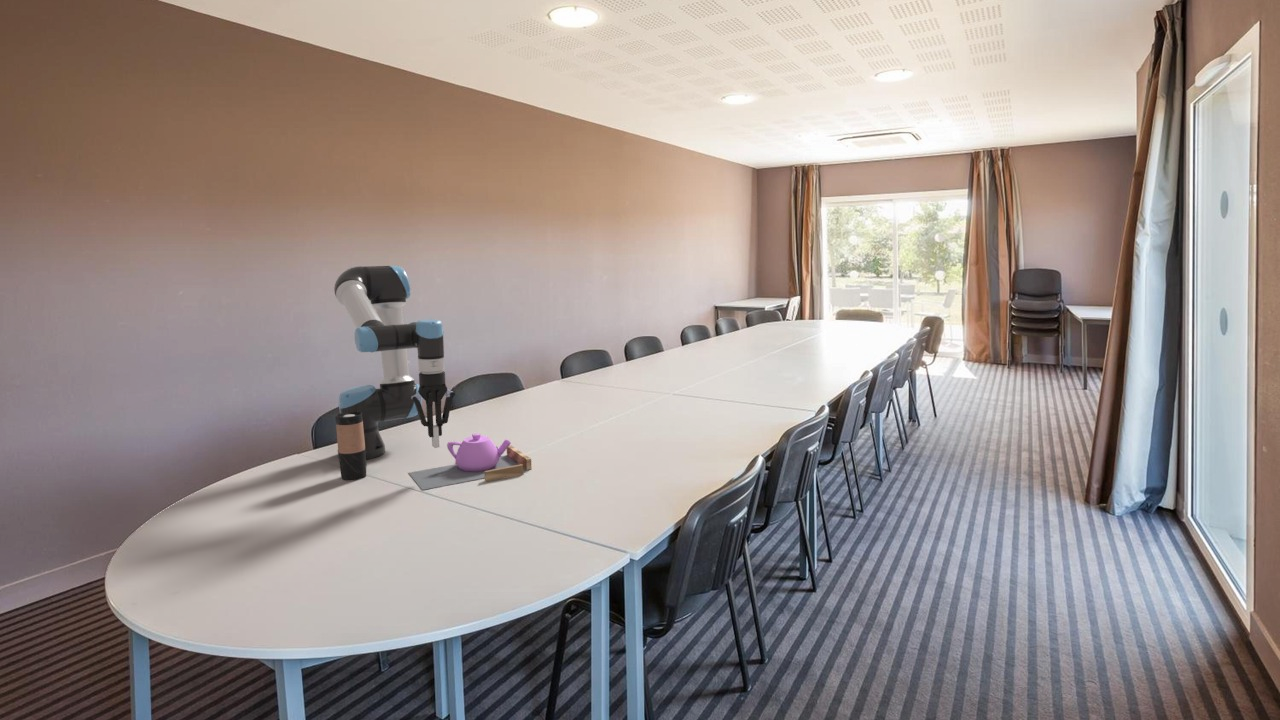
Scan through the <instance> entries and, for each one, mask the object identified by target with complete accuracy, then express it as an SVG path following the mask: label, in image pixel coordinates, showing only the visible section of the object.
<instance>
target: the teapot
mask: <svg viewBox="0 0 1280 720" xmlns="http://www.w3.org/2000/svg"><path fill="white" fill-rule="evenodd" d="M511 444H512V443H511V441H510V440H508V439H504V441H503V442H502V443H501V445H500V446H499V447H498V450H497V448H496V446H497V445H495V443H494V442H493V441H492V440H491V438H490V437H488V436H486V435H481V433H472V434H471V436H470V437H469V436H468V437H467V438H464V439H463V440H462V442H459V441H449V442H447V444H446V447H447V450H448V452H449V453H450V454H451V455H452V457H453V458H454V460H455V464H456V465H457V466H458V467H459V468H460V469H461V470H463V471H469V472H477V471H485V470H489V469H491V468H493V467H495V466H496V464H497V463H498V461H499V457H500V456H503V454H504V453H505V451H507V448H508V447H509V445H511ZM454 446H459V447H458V449H457V452H455V450H454Z"/></svg>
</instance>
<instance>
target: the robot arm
mask: <svg viewBox="0 0 1280 720" xmlns="http://www.w3.org/2000/svg"><path fill="white" fill-rule="evenodd" d="M407 274H408V273H407V272H406V271H405V268H403V267H401V266H399V265H398V266H397V265H396V266H395V265H372V266H368V265H367V266H354V267H350V268H348V269H346V270H345V271H343V272H342V273H341V274H340V275H339V276H338V277H337V279H336V281H335V283H334V287H333V288H334V289H333V291H334V295H335V298H336V299H337V301H338V302H339V303H340V304H341V305H342V306H344V308H345V310H346V311H347V313H348V314H349V317H350V318H351V320H352V322H353V324H354V326H355V330H354V344H355V348H356V349H357V351H358V352H360V353H377V352H380V355H381V357H380V358H381V365H382V375H383V378H382V380H381V381H380V382H379V388H376V387H375V385H373V384H372V385H371V384H366V385H363V384H362V385H358V386H354V387H350V388H347V389H345V390H343V391H342V392H341V393H339V395H338V408H339V414H340V413H343V414H349V413H350V412H361V413H362V419H363V430H364V440H365V453H366V460H369V459H373V458H376V457H380V456H383V455H384V454H385V453H386V446H385V443H384V440H383V438H382V435H381V434H380V431H379V425H378V424H379V423H382V422H389V421H395V420H401V419H404V420H406V419H408V418H413V417H416V416H417V415H418V418H419V421H420V423H421V425H422V426H423V427H427V434H428V437H429V438H431V445H432V447H433V448H434V449H438V448H440V437H441V436H442V435H443V426H444V425H445V424H447V423H448V422H449V418H450V412H451V407H452V403H453V402H452V401H453V398H454V397H455V396H456V392H454V391H452V390H450V389H448V387H447V384H446V372H445V369H446V368H445V367H446V366H445V349H444V347H445V346H444V345H445V343H444V332H445V331H444V328H443V321H441V320H440V319H421V320H418V321H412V322H410V323H404V322H405V321H404V316H403V315H404V314H403V313H404V312H403V308H404V306H405V305H406V304H407V301H406V300H408V299H409V298H410V297H411V284H410V280H409V277H408V275H407ZM408 349H417V365H418V366H417V367H418V383H419V384H418V383H416V382H415V379H414V377H412V376H411V375H410V369H409V361H408V359H409V358H408V351H407V350H408ZM445 396H446V397H445ZM444 397H445V400H444V406H443V411H442V400H443V398H444ZM423 400H424V401H425V406H426V408H425V409H426V415H425V413H424V410H423V407H422V404H423V403H422V402H423ZM433 402H434V403H433ZM433 405H434V410H435V411H433ZM433 412H435V413H433ZM434 414H435V424H434ZM337 458H338V459H339V454H338V453H337Z"/></svg>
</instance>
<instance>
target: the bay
mask: <svg viewBox="0 0 1280 720" xmlns="http://www.w3.org/2000/svg"><path fill="white" fill-rule="evenodd" d="M495 446H496V448H497V450H498V449H499V447H498V446H497V445H495ZM506 455H508V456H509V457H510V458H512V459H513V460H515V461H516V462H517V463H519V464H520V465H514V466H509V467H504V468H498V469H493V470H488V471H484V474H485V478H484V481H485V482H486V483H488V482H492V481H493V482H494V481H496V480H502V479H507V478H511V477H517V476H522V475H524V471H523V467H524V468H526V469H530V470H532V466H533V465H532V458H531V457H529V456H528V455H527V454H525V453H523V452H522V451H520V450H519V449H518V448H516V447H514V446H513V445H511V444H510V445H509V447H508V448H507V449H506Z"/></svg>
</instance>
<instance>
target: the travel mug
mask: <svg viewBox="0 0 1280 720" xmlns="http://www.w3.org/2000/svg"><path fill="white" fill-rule="evenodd" d="M335 428H336V429H335V430H336V441H337V455H338V454H339V458H338V461H339V469H340V476H341V480H342V481H346V482H350V481H351V482H352V481H353V482H354V481H359V480H361V479H364V478H366V477H367V459H366V453H365V440H364V430H363V419H362V413H361V412H350V413H349V414H343V413H340V412H339V413H337V414H336V415H335Z"/></svg>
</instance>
